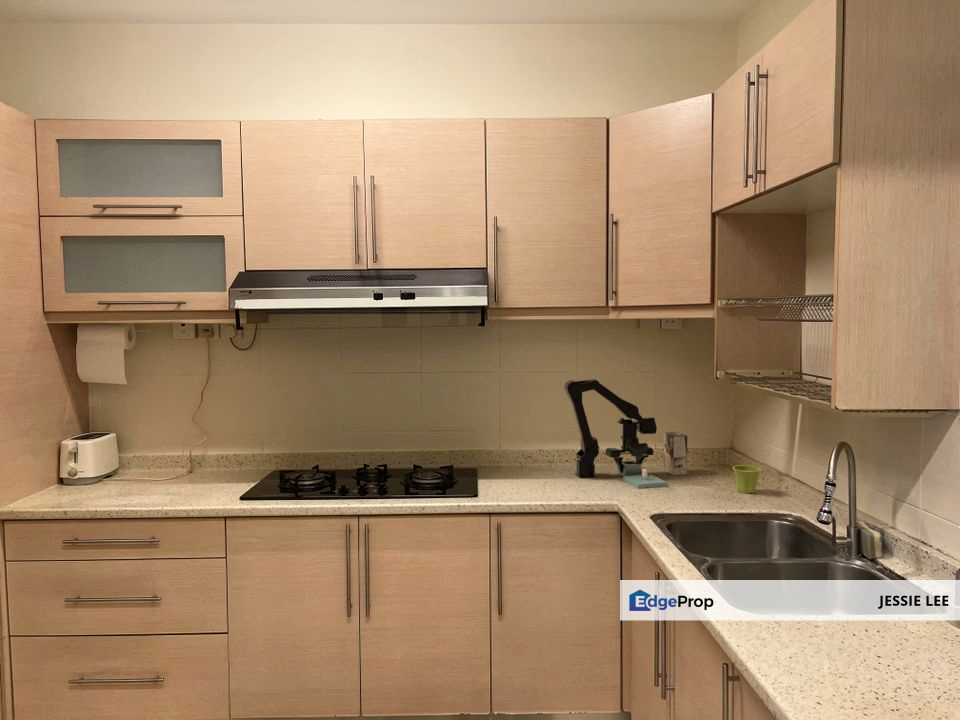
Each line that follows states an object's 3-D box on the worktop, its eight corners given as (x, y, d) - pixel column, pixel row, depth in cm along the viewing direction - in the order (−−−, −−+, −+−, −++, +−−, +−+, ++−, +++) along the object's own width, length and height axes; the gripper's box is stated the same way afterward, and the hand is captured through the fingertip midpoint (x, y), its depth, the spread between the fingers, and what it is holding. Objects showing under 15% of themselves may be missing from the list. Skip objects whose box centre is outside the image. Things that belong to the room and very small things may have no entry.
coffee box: (687, 474, 253) (688, 435, 252) (673, 475, 252) (673, 436, 251) (676, 469, 262) (677, 431, 261) (662, 470, 261) (663, 432, 260)
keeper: (637, 488, 234) (638, 473, 233) (623, 480, 245) (623, 466, 245) (666, 486, 236) (667, 471, 236) (651, 478, 248) (651, 464, 248)
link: (625, 477, 249) (625, 465, 249) (617, 473, 256) (617, 461, 256) (641, 476, 251) (641, 464, 250) (633, 472, 258) (633, 460, 257)
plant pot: (757, 496, 222) (758, 472, 221) (729, 492, 227) (730, 469, 226) (762, 490, 229) (762, 467, 229) (734, 486, 235) (735, 464, 234)
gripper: (617, 439, 242) (616, 478, 243) (660, 436, 247) (660, 475, 248) (605, 434, 253) (604, 472, 254) (646, 432, 257) (646, 469, 258)
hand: (629, 472), depth 253 cm, fingers closed on link, 7 cm apart
